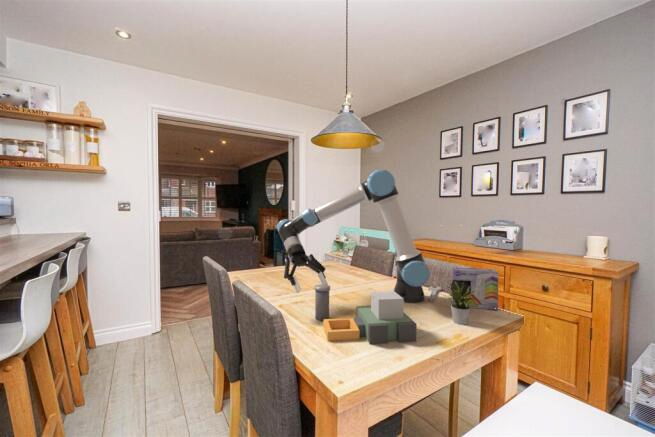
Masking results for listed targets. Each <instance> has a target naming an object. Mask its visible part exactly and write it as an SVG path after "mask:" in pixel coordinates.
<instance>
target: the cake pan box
mask: <svg viewBox="0 0 655 437" xmlns="http://www.w3.org/2000/svg"><path fill="white" fill-rule="evenodd" d="M455 282H456V283H457V285H458V286H459V288H460V289H461V288H462V287H463V288H462V292H461V299H462V296H463V294H464V293H466V291H467V289H468V288H469V286H470V288H469V293H470V292H472V291H473V290H475V289H476V290H475V291H474V292H472V293H471V294H470V295H469V296H468V295H467V296H468V297H467V298H474V299H471V300H469V301H468V303H469V302H471V301H473V302H471V303H469V304H468V305H467V306H469V307H470V308H471V309H478V310H479V309H481V310H494V311H495V310H496V311H498V310H499V271H498V270H497V269H494V268H492V269H491V268H478V267H458V266H453V267H452V280H451V283H450V284H451V285H452V286H453V288H454V290H456V284H455ZM451 285H450V288H451V289H452V287H451ZM477 288H479V289H477ZM451 289H450V291H451V294H454V293H453V291H452V290H453V289H452V290H451ZM469 293H468V294H469ZM454 296H455V295H454ZM455 297H456V296H455ZM452 301H453V302H454V303H455V301H454V299H453V298H452ZM453 302H452V304H454V303H453ZM455 304H456V303H455ZM495 308H496V309H495Z"/></svg>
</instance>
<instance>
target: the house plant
mask: <svg viewBox="0 0 655 437" xmlns="http://www.w3.org/2000/svg"><path fill="white" fill-rule="evenodd" d="M444 282H446V280H445V279H444ZM447 283H448V284H449V285H450V286H448V288H447V285H446V284H445V285H444V286H445V287H444V288H445V289H447V290H448V291H449V292H450V293H449V294H448V296H450V297H448V296H446V295H445V297H447V298H446V300H445V302H448V301H451V302H452V303H451V304H450V308H451V315H452V316H451V317H452V322H453V323H454V324H457V325H460V326H462V325H463V326H465V325H468V323H469V318H470V314H471V313H470V312H471V309H472V308H470V307H469V306H467V305H468V304H469V303H471V302H473V301H471V302H469V303H468V301H469V300H471V299H474V298H467V297H468V296H469V295H470V294H471V293H472V292H474V291H475V290H476V289H475V290H473V291H472V292H470V293H469V288H470V286H469V288H468V289H467V291H466V293H464V294H463V296H462V299H461V292H462V288H463V287H462V288H461V289H460V288H459V286H458V285H457V283H456V282H455V284H456V290H454V288H453V286H452V285H451V283H450V282H449V281H447ZM451 287H452V289H453V290H452V289H451ZM477 289H479V288H477ZM451 290H452V291H453V293H454V294H452V291H451ZM468 293H469V294H468ZM454 295H455V296H456V297H455V296H454ZM467 295H468V296H467ZM453 299H454V301H455V303H456V304H455V303H454V302H453ZM453 303H454V304H453Z"/></svg>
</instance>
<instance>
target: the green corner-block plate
mask: <svg viewBox="0 0 655 437" xmlns="http://www.w3.org/2000/svg"><path fill="white" fill-rule="evenodd" d="M370 294H371V296H370V300H371V301H370V305H359V306H358V305H356V308H355V311H356V313H355V315H356V316H354V317H347V318H346V317H344V318H341V317H340V318H329V319H324V321H323V330H324V334H325V337H326V339H327V342H334V341H335V342H336V341H350V340H360V337H365V338H366V340H367V342H368V343H369V345H376V344H377V345H380V344H388V341H396V340H397V341H398V343H410V342H411V343H412V342H417V323H416V322H415V321H414V320H413V319H412V318H410V316H408V315H407V314H406V313H405V311H404V303H405V302H404V299H403V298H402V297H401V296H400V295H398V294H397V293H396V292H395V291H394V290H391V291H390V290H389V291H371V292H370Z"/></svg>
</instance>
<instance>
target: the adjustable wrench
mask: <svg viewBox="0 0 655 437" xmlns="http://www.w3.org/2000/svg"><path fill="white" fill-rule="evenodd" d="M428 289H429V290H428ZM427 290H428V291H430V290H431V291H430V295H429V297H428V301H429V302H430V303H432V302H433V303H434V302H435V300H436V296H437V293H438V292H437V291H439V292H442V287H441V286H436V287H433V286H429V287H428V288H427ZM436 292H437V293H436Z"/></svg>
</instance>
